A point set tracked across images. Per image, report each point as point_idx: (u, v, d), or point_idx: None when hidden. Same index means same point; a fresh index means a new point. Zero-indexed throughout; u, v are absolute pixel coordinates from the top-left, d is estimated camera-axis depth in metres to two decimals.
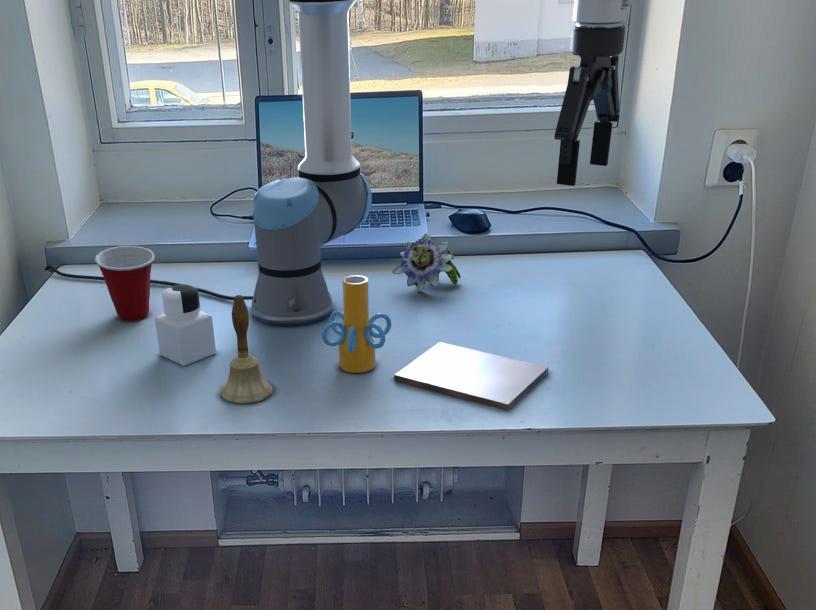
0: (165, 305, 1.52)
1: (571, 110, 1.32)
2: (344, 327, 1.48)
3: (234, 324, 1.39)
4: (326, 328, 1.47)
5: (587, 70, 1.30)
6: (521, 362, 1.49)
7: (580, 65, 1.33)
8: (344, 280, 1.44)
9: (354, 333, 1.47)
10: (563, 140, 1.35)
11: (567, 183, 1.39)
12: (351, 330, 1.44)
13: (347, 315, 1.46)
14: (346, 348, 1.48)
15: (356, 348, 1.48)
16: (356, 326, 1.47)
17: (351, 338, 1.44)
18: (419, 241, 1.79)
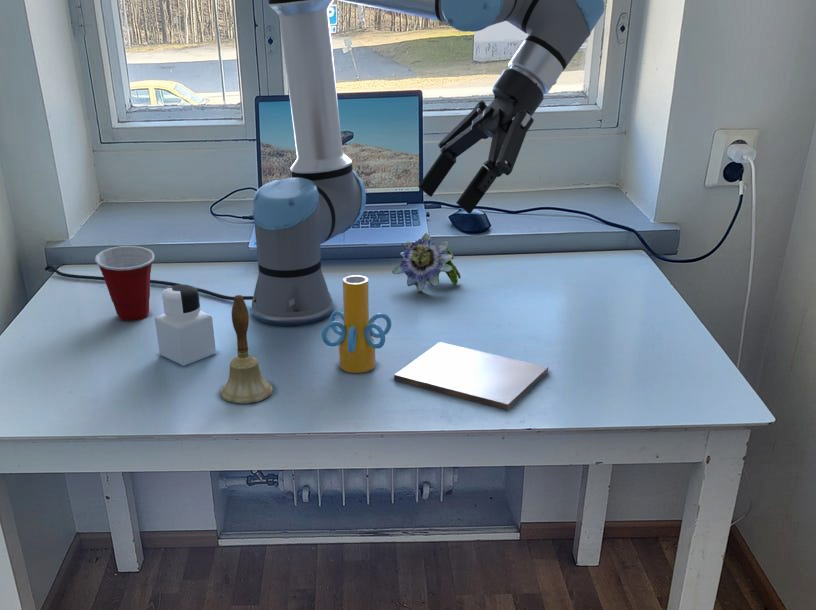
0: (165, 305, 1.52)
1: (515, 149, 1.35)
2: (344, 327, 1.48)
3: (234, 324, 1.39)
4: (326, 328, 1.47)
5: None
6: (521, 362, 1.49)
7: (515, 110, 1.38)
8: (344, 280, 1.44)
9: (354, 333, 1.47)
10: (494, 170, 1.36)
11: (467, 208, 1.38)
12: (351, 330, 1.44)
13: (347, 315, 1.46)
14: (346, 348, 1.48)
15: (356, 348, 1.48)
16: (356, 326, 1.47)
17: (351, 338, 1.44)
18: (419, 241, 1.79)
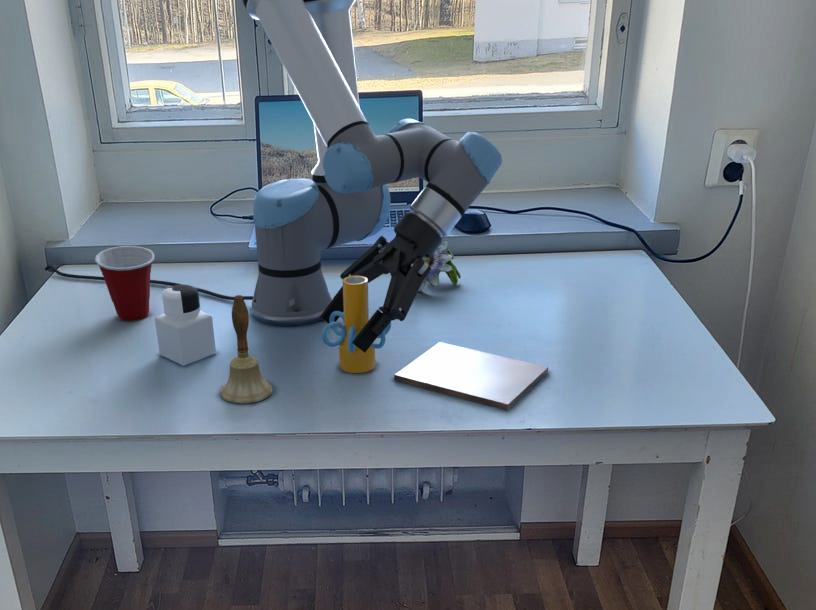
0: (165, 305, 1.52)
1: (410, 297, 1.41)
2: (344, 327, 1.48)
3: (234, 324, 1.39)
4: (326, 329, 1.46)
5: None
6: (521, 362, 1.49)
7: (415, 254, 1.43)
8: (344, 280, 1.44)
9: (354, 333, 1.47)
10: (388, 316, 1.41)
11: (362, 348, 1.44)
12: (351, 330, 1.44)
13: (347, 316, 1.46)
14: (346, 348, 1.48)
15: (356, 348, 1.48)
16: (356, 326, 1.47)
17: (351, 338, 1.44)
18: None
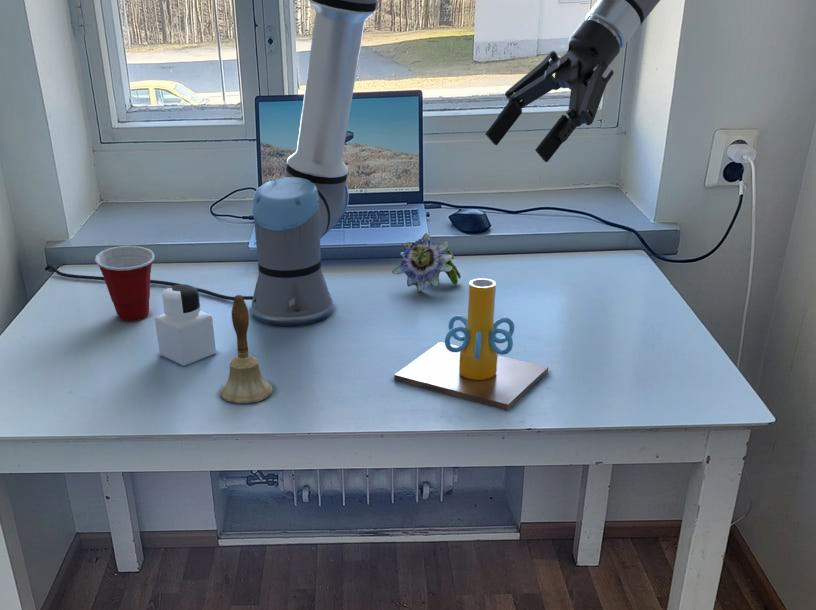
0: (165, 305, 1.52)
1: (596, 100, 1.37)
2: (468, 332, 1.42)
3: (234, 324, 1.39)
4: (450, 333, 1.41)
5: None
6: (521, 362, 1.49)
7: (595, 61, 1.39)
8: (471, 283, 1.39)
9: None
10: (575, 120, 1.37)
11: (545, 156, 1.39)
12: (479, 336, 1.38)
13: (473, 320, 1.40)
14: (469, 354, 1.42)
15: (480, 354, 1.42)
16: (481, 331, 1.41)
17: (479, 344, 1.38)
18: (419, 241, 1.79)
